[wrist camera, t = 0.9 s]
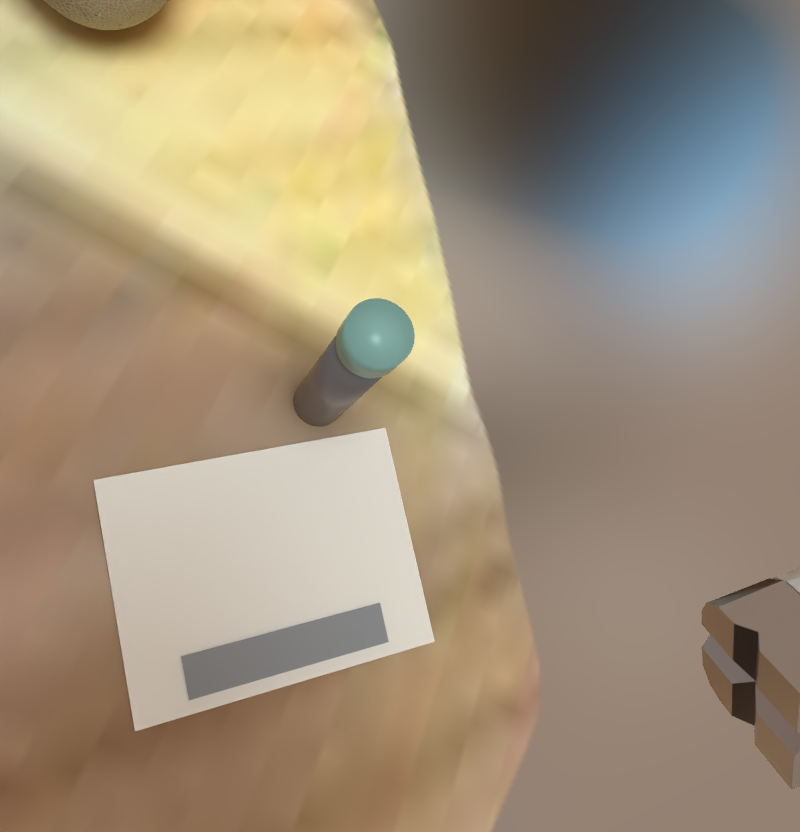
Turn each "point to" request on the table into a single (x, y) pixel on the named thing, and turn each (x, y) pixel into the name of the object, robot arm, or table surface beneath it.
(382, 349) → the marker
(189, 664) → the paper
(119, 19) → the fruit
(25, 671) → the table surface
